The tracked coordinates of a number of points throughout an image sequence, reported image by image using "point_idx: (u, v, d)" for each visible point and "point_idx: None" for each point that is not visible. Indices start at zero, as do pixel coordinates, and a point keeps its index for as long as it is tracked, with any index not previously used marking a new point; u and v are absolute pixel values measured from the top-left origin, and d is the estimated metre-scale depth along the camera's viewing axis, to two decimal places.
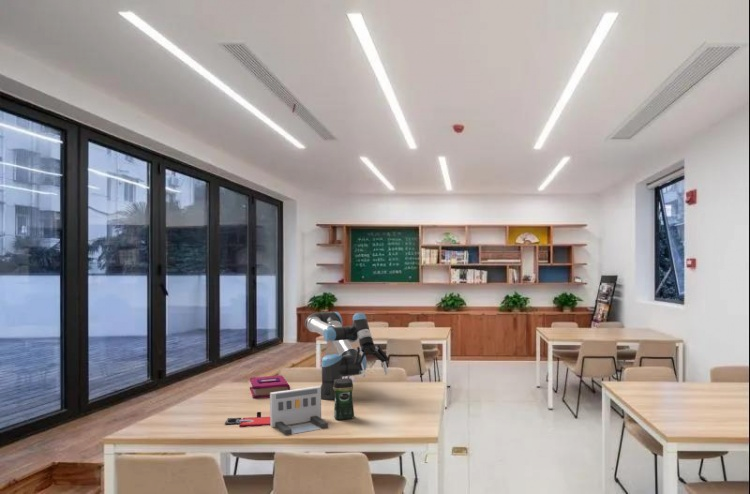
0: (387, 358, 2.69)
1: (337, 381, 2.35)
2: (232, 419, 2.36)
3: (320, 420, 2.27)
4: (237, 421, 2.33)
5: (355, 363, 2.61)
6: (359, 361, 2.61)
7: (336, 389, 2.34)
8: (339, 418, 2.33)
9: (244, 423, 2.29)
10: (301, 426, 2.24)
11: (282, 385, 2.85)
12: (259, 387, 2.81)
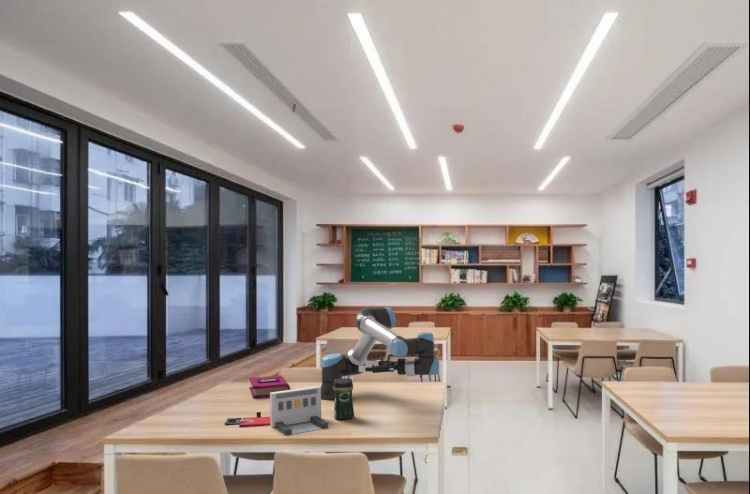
0: None
1: (337, 381, 2.35)
2: (232, 419, 2.36)
3: (320, 420, 2.27)
4: (237, 421, 2.33)
5: (373, 370, 2.25)
6: None
7: (336, 389, 2.34)
8: (339, 418, 2.33)
9: (244, 423, 2.28)
10: (301, 426, 2.24)
11: (282, 385, 2.85)
12: (259, 387, 2.81)
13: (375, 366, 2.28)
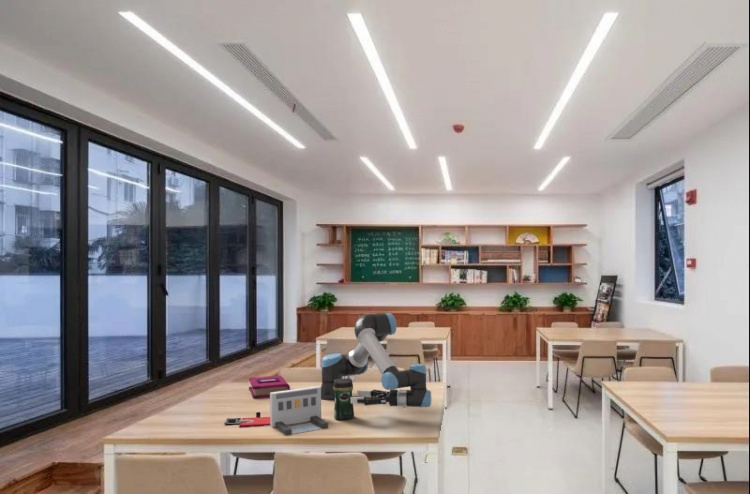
0: None
1: (337, 381, 2.35)
2: (231, 419, 2.36)
3: (320, 420, 2.27)
4: (237, 421, 2.33)
5: (364, 403, 2.25)
6: None
7: (336, 389, 2.34)
8: (339, 418, 2.33)
9: (243, 423, 2.28)
10: (301, 426, 2.24)
11: (282, 385, 2.85)
12: (259, 387, 2.81)
13: (367, 398, 2.27)
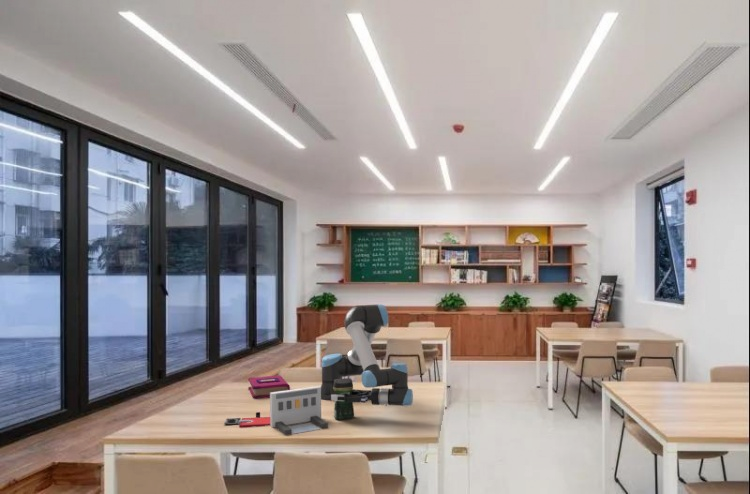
0: None
1: (337, 381, 2.35)
2: (231, 419, 2.36)
3: (320, 420, 2.27)
4: (236, 421, 2.33)
5: (344, 400, 2.30)
6: None
7: (336, 389, 2.34)
8: (339, 418, 2.33)
9: (243, 423, 2.28)
10: (301, 426, 2.24)
11: (282, 385, 2.85)
12: (259, 387, 2.81)
13: None
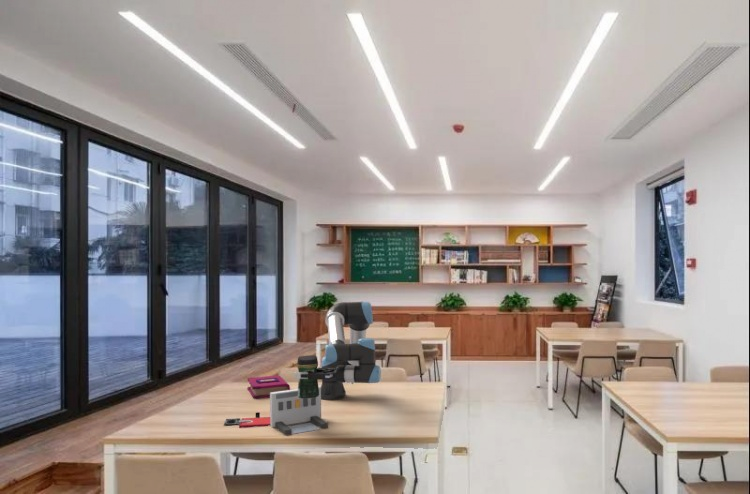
0: None
1: (301, 358, 2.22)
2: (231, 420, 2.35)
3: (320, 420, 2.27)
4: (236, 422, 2.32)
5: (307, 377, 2.16)
6: None
7: (300, 366, 2.21)
8: (303, 397, 2.20)
9: (243, 424, 2.28)
10: (301, 426, 2.24)
11: (282, 385, 2.86)
12: (259, 387, 2.81)
13: (311, 373, 2.19)
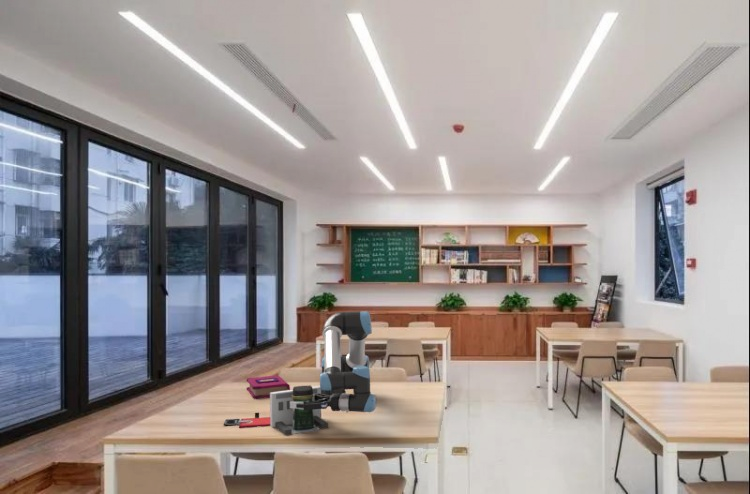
0: None
1: (296, 388, 2.21)
2: (230, 420, 2.35)
3: (320, 420, 2.27)
4: (236, 422, 2.32)
5: (303, 407, 2.12)
6: None
7: (294, 397, 2.19)
8: (297, 428, 2.18)
9: (243, 424, 2.27)
10: None
11: (282, 385, 2.86)
12: (259, 387, 2.81)
13: (307, 402, 2.15)
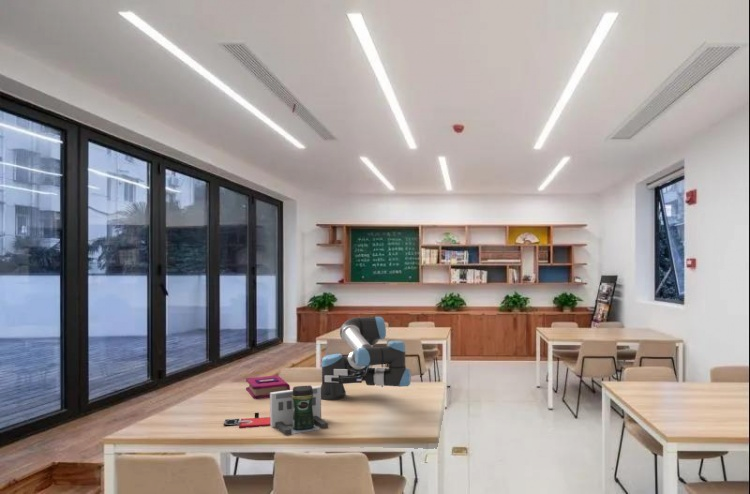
0: None
1: (296, 388, 2.21)
2: (230, 420, 2.34)
3: (320, 420, 2.27)
4: (236, 422, 2.31)
5: (339, 381, 2.11)
6: None
7: (294, 397, 2.19)
8: (297, 428, 2.18)
9: (243, 424, 2.27)
10: None
11: (282, 385, 2.86)
12: (259, 387, 2.81)
13: (342, 376, 2.13)
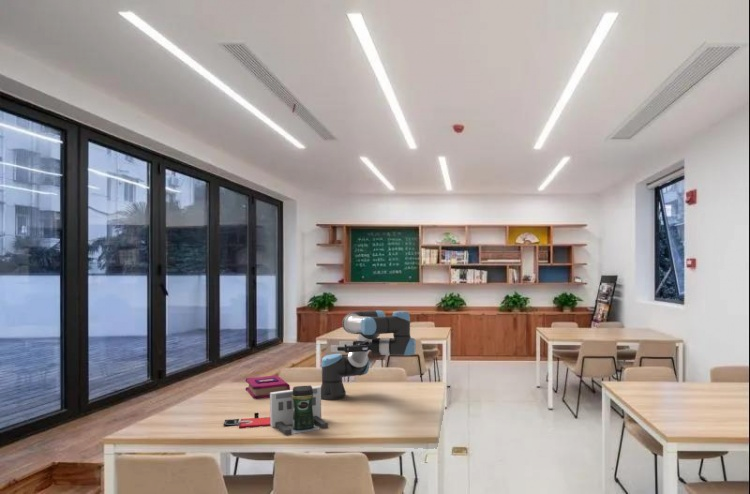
0: None
1: (296, 388, 2.21)
2: (230, 420, 2.34)
3: (320, 420, 2.27)
4: (235, 422, 2.31)
5: (345, 350, 2.14)
6: None
7: (294, 397, 2.19)
8: (297, 428, 2.18)
9: (243, 424, 2.27)
10: None
11: (282, 385, 2.86)
12: (260, 387, 2.81)
13: (348, 346, 2.17)
